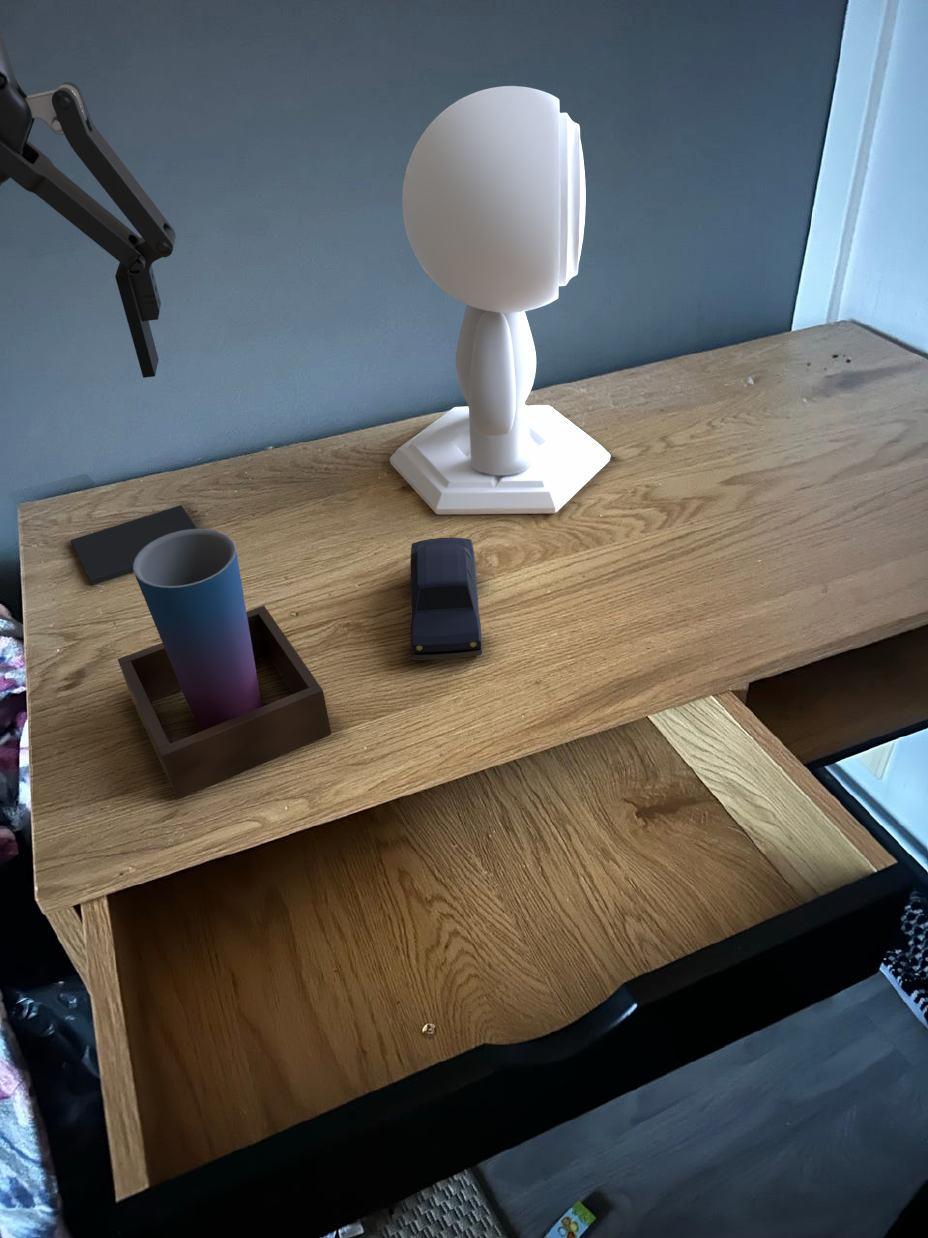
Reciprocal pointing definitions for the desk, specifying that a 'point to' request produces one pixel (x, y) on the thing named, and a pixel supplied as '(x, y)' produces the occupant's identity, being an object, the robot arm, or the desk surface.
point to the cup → (201, 621)
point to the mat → (125, 543)
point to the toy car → (444, 600)
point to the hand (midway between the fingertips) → (43, 381)
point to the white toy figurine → (498, 298)
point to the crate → (242, 736)
